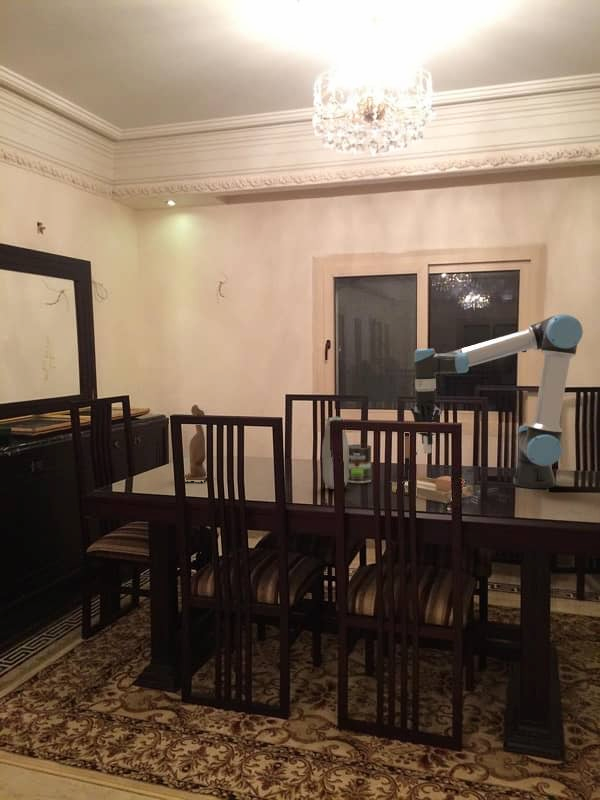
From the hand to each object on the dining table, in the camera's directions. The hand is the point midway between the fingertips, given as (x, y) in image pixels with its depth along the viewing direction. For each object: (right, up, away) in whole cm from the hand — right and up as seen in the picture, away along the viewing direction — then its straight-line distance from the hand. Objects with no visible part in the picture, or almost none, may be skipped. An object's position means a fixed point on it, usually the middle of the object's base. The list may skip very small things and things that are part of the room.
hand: (427, 452), depth 235 cm
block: (+7, -13, -7) cm, 16 cm away
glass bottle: (-34, -15, +6) cm, 38 cm away
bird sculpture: (-91, -14, +27) cm, 96 cm away
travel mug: (-3, -12, +26) cm, 29 cm away
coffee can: (-24, -13, +21) cm, 34 cm away
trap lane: (0, -15, -3) cm, 15 cm away
